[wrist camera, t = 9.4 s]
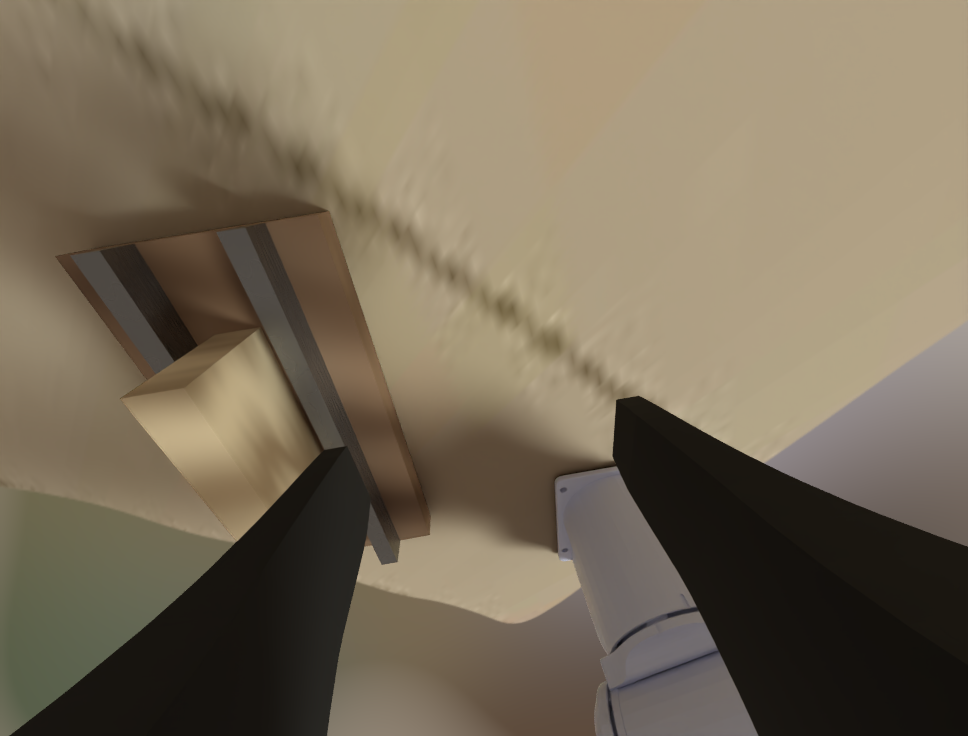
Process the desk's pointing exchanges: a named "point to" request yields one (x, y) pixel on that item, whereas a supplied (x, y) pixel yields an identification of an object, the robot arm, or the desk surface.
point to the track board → (269, 337)
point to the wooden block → (228, 425)
